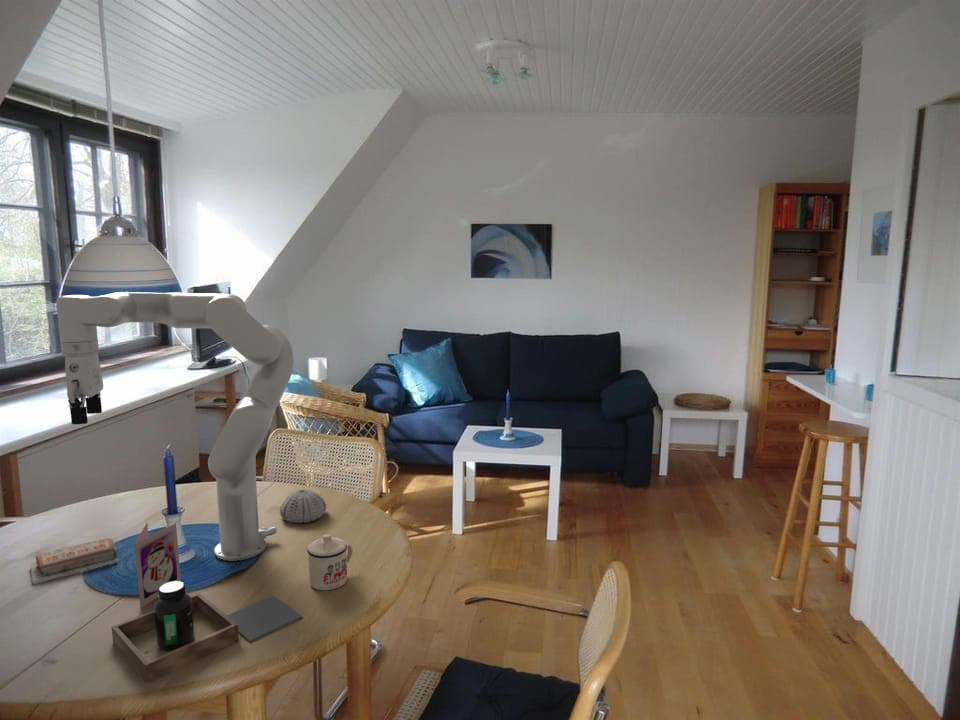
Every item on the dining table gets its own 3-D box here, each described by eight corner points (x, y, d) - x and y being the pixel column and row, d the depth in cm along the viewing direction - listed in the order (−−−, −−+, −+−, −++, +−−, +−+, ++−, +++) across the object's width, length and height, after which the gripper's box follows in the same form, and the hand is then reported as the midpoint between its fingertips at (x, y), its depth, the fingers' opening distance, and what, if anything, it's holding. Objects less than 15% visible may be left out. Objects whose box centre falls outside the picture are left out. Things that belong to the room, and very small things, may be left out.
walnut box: (200, 607, 143) (199, 592, 142) (239, 640, 131) (238, 624, 130) (113, 642, 130) (111, 626, 129) (147, 682, 118) (145, 665, 117)
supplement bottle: (177, 655, 126) (172, 598, 124) (149, 648, 128) (144, 592, 126) (202, 635, 132) (198, 581, 130) (175, 629, 135) (170, 575, 132)
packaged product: (112, 532, 169) (117, 547, 161) (113, 550, 170) (119, 565, 162) (28, 551, 159) (30, 567, 151) (30, 569, 160) (32, 586, 152)
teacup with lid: (326, 595, 148) (324, 548, 146) (300, 583, 153) (298, 537, 151) (365, 574, 157) (363, 529, 155) (339, 563, 162) (338, 520, 160)
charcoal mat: (273, 597, 147) (273, 595, 147) (302, 617, 139) (302, 616, 139) (222, 619, 138) (222, 617, 138) (250, 642, 130) (249, 640, 130)
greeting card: (143, 608, 142) (137, 544, 139) (118, 602, 145) (111, 539, 142) (183, 583, 153) (178, 523, 150) (159, 577, 155) (154, 518, 153)
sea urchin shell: (302, 530, 182) (301, 503, 180) (269, 519, 189) (268, 493, 187) (336, 514, 193) (335, 488, 191) (304, 504, 200) (302, 479, 198)
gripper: (84, 353, 145) (92, 427, 148) (109, 342, 162) (116, 408, 165) (46, 354, 144) (55, 429, 147) (76, 343, 160) (83, 410, 163)
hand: (87, 418), depth 156 cm, fingers open, 9 cm apart
